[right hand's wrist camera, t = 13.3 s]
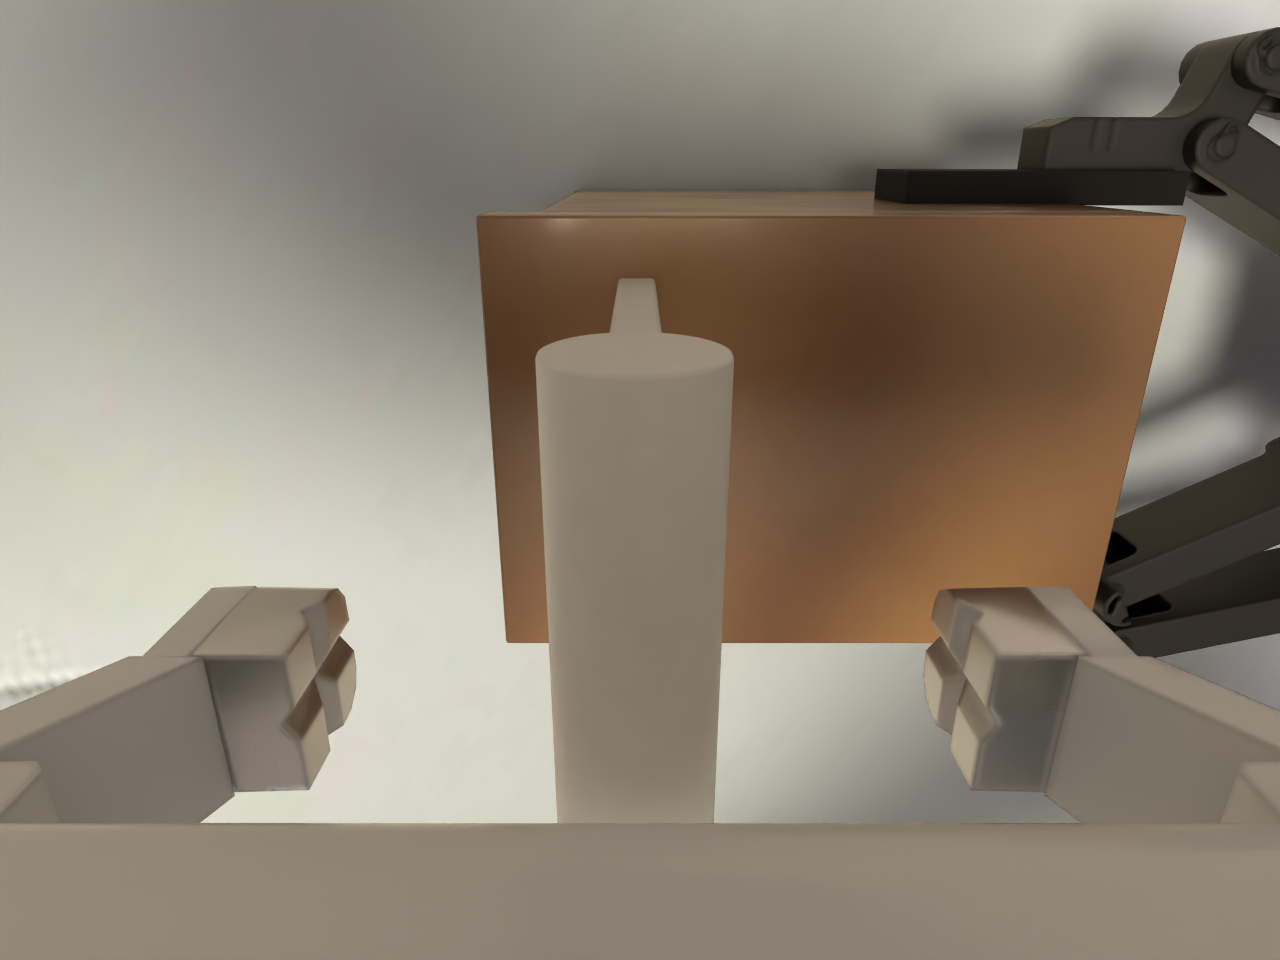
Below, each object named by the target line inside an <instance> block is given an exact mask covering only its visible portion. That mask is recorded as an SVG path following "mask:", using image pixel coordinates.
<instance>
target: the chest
mask: <svg viewBox="0 0 1280 960" xmlns="http://www.w3.org/2000/svg"><path fill="white" fill-rule="evenodd" d="M874 195H875V191H847V190H577V191H575V193H574V194H572V195H570V196H569V197H567V198H565V199H563V200H561V201H559V202H557V203H556V204H554V205H552V206H550V207H548V208H546V209H544V210H543V211H541V212H1142V211H1133V210H1123V209H1114V208H1104V207H1095V206H1085V205H1076V204H904V203H899V202H893V201H887V200H881V199H875V198H874Z"/></svg>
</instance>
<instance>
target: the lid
mask: <svg viewBox="0 0 1280 960" xmlns="http://www.w3.org/2000/svg"><path fill="white" fill-rule="evenodd" d="M1185 221H1186V217H1185V216H1181V215H1171V214H1162V213H1152V212H487V213H484V214H482V215H479V216H477V218H476V222H477V236H478V250H479V264H480V278H481V292H482V306H483V321H484V335H485V349H486V363H487V377H488V391H489V405H490V419H491V433H492V448H493V462H494V476H495V490H496V504H497V518H498V532H499V546H500V560H501V575H502V589H503V603H504V617H505V631H506V641H507V643H549V654H550V675H551V696H552V717H553V738H554V758H555V779H556V800H557V821H558V823H714V801H715V778H716V755H717V733H718V710H719V688H720V665H721V643H934V642H935V641H936V640H937V639H938V638H939V637H940V636H941V635H940V634H939V632H938V631H937V629H936V627H935V626H934V624H933V622H932V621H931V617H932V611H933V605H934V601H935V599H936V596H937V594H938V591H939V590H943V589H957V588H998V587H1046V586H1062V587H1065V588H1068V589H1070V590H1071V591H1072V592H1073V593H1074V594H1075V595H1076V596H1077V597H1078V598H1079V599H1080V600H1081V601H1082V602H1083V603H1084V604H1085V605H1086V606H1087V607H1088V608H1089V609H1090V610H1091V611H1093V606H1094V602H1095V598H1096V594H1097V590H1098V585H1099V581H1100V577H1101V573H1102V569H1103V565H1104V560H1105V556H1106V552H1107V548H1108V544H1109V539H1110V535H1111V531H1112V527H1113V523H1114V518H1115V514H1116V510H1117V506H1118V502H1119V498H1120V493H1121V489H1122V485H1123V481H1124V477H1125V472H1126V468H1127V464H1128V460H1129V456H1130V451H1131V447H1132V443H1133V439H1134V435H1135V431H1136V426H1137V422H1138V418H1139V414H1140V410H1141V405H1142V401H1143V397H1144V393H1145V389H1146V384H1147V380H1148V376H1149V372H1150V368H1151V364H1152V359H1153V355H1154V351H1155V347H1156V343H1157V338H1158V334H1159V330H1160V326H1161V322H1162V317H1163V313H1164V309H1165V305H1166V301H1167V297H1168V292H1169V288H1170V284H1171V280H1172V276H1173V271H1174V267H1175V263H1176V259H1177V255H1178V251H1179V246H1180V242H1181V238H1182V234H1183V230H1184V225H1185Z"/></svg>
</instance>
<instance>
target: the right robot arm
mask: <svg viewBox="0 0 1280 960" xmlns="http://www.w3.org/2000/svg"><path fill="white" fill-rule="evenodd" d="M348 621H349V617H348V611H347V606H346V601H345V596H344V595H343V594H342V593H341V592H340V590H339V589H338V588H291V587H259V588H258V587H256V586H239V587H217V588H211V589H210V590H209V591H208V592H207V593H206V594H205V595H204V596H203V597H202V598H201V599H200V600H199V601H198V602H197V603H196V604H195V605H194V606H193V607H192V608H191V609H190V610H189V611H188V612H187V613H186V614H185V615H184V616H183V617H182V618H181V619H180V620H179V621H178V622H177V623H176V624H175V625H174V626H173V627H172V628H171V629H170V630H169V631H168V632H167V633H166V634H165V635H164V636H163V637H162V638H161V639H160V640H159V641H157V642H156V643H155V644H154V645H153V646H152V647H151V648H150V649H149V650H148V651H147V652H146V653H145V654H144V655H143V656H129V657H127V658H124V659H122V660H119V661H117V662H115V663H112V664H110V665H108V666H105V667H103V668H101V669H98V670H96V671H93V672H91V673H89V674H86V675H84V676H82V677H79V678H77V679H74V680H72V681H70V682H67V683H65V684H63V685H60V686H58V687H56V688H53V689H51V690H48V691H46V692H44V693H41V694H39V695H37V696H34V697H32V698H29V699H27V700H25V701H22V702H20V703H18V704H15V705H13V706H11V707H8V708H6V709H3V710H1V711H0V960H1280V711H1279V710H1276V709H1274V708H1272V707H1269V706H1267V705H1265V704H1262V703H1260V702H1257V701H1255V700H1253V699H1250V698H1248V697H1246V696H1243V695H1241V694H1239V693H1236V692H1234V691H1231V690H1229V689H1227V688H1224V687H1222V686H1220V685H1217V684H1215V683H1213V682H1210V681H1208V680H1206V679H1203V678H1201V677H1198V676H1196V675H1194V674H1191V673H1189V672H1187V671H1184V670H1182V669H1180V668H1177V667H1175V666H1172V665H1170V664H1168V663H1165V662H1163V661H1161V660H1158V659H1156V658H1154V657H1151V656H1137V655H1136V654H1135V653H1134V652H1133V651H1132V650H1131V649H1130V648H1129V647H1128V646H1127V645H1126V644H1125V643H1124V642H1123V641H1122V640H1121V639H1120V638H1119V637H1118V636H1117V635H1116V634H1115V633H1114V632H1113V631H1112V630H1111V629H1110V628H1109V627H1108V626H1107V625H1106V624H1105V623H1104V622H1103V621H1102V620H1101V619H1100V618H1099V617H1098V616H1097V615H1095V614H1094V613H1093V612H1092V611H1091V610H1090V609H1089V608H1088V607H1087V606H1086V605H1085V604H1084V603H1083V602H1082V601H1081V600H1080V599H1079V598H1078V597H1077V596H1076V595H1075V594H1074V593H1073V592H1072V591H1071V590H1070V589H1068V588H1065V587H1062V586H1046V587H998V588H957V589H943V590H939V591H938V594H937V596H936V599H935V601H934V605H933V611H932V617H931V621H932V622H933V624H934V626H935V627H936V629H937V631H938V632H939V634H940V635H941V636H940V637H939V638H938V639H937V640H936V641H935V642H934V643H933V644H932V645H931V646H930V647H929V648H928V649H927V650H926V657H925V665H924V687H925V697H926V700H927V704H928V707H929V711H930V713H931V715H932V717H933V719H934V721H935V723H936V725H937V726H939V727H940V728H942V729H943V730H945V731H947V732H948V733H950V734H951V735H952V740H951V746H950V752H951V753H952V755H953V757H954V759H955V761H956V763H957V765H958V767H959V768H960V770H961V772H962V774H963V776H964V778H965V780H966V782H967V783H968V785H969V787H970V789H971V790H987V791H1024V792H1046V794H1045V795H1046V796H1047V797H1048V798H1049V799H1051V800H1052V801H1053V802H1055V803H1056V804H1057V805H1058V806H1060V807H1061V808H1062V809H1064V810H1065V811H1066V812H1067V813H1069V814H1070V815H1071V816H1073V817H1074V818H1075V819H1076V820H1078V821H1079V822H1080V823H200V822H201V821H203V820H204V819H205V818H206V817H208V816H209V815H210V814H212V813H213V812H214V811H216V810H217V809H218V808H219V807H221V806H222V805H223V804H225V803H226V802H227V801H228V800H230V799H231V798H232V797H234V795H235V794H234V792H255V791H291V790H309V789H310V788H311V786H312V784H313V782H314V780H315V778H316V776H317V774H318V773H319V771H320V769H321V767H322V765H323V763H324V761H325V759H326V757H327V756H328V754H329V752H330V745H329V739H328V735H329V734H330V733H332V732H334V731H335V730H337V729H338V728H340V727H341V726H343V725H344V723H345V721H346V719H347V717H348V715H349V713H350V711H351V708H352V704H353V699H354V694H355V690H356V662H355V655H354V650H353V649H352V648H351V647H350V646H349V645H348V644H347V643H346V642H345V641H344V640H343V639H342V638H341V637H340V634H341V632H342V631H343V629H344V627H345V626H346V624H347V623H348Z"/></svg>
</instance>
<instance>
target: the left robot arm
mask: <svg viewBox="0 0 1280 960" xmlns="http://www.w3.org/2000/svg"><path fill="white" fill-rule="evenodd" d="M1179 82H1180V84H1181V85H1180V86H1179V88H1178V90H1177V92H1176V94H1175V96H1174V97H1173V99H1172V100H1171V102H1170V103H1169V105H1168V106H1167V107H1166V108H1164V109H1163V110H1162V111H1161V112H1160V113H1158V114H1157V115H1155V116H1153V117H1071V118H1060V119H1049V120H1044V121H1041V122H1039V123H1036V124H1034V125H1032V126H1029V127H1027V128H1024V131H1023V137H1022V143H1021V149H1020V155H1019V161H1018V168H1017V169H877V176H876V186H875V195H874V198H875V199H881V200H887V201H893V202H899V203H904V204H1076V205H1183V202H1184V198H1185V195H1186V196H1187V197H1189V198H1190V199H1192V200H1193V201H1195V202H1197V203H1198V204H1200V205H1201V206H1203V207H1204V208H1206V209H1208V210H1209V211H1211V212H1212V213H1214V214H1215V215H1217V216H1219V217H1220V218H1222V219H1223V220H1225V221H1226V222H1228V223H1230V224H1231V225H1233V226H1234V227H1236V228H1237V229H1239V230H1241V231H1242V232H1244V233H1245V234H1247V235H1248V236H1250V237H1252V238H1253V239H1255V240H1256V241H1258V242H1259V243H1261V244H1263V245H1264V246H1266V247H1267V248H1269V249H1270V250H1272V251H1274V252H1275V253H1277V254H1278V255H1280V146H1278V145H1277V144H1275V143H1274V142H1272V141H1271V140H1269V139H1268V138H1266V137H1265V136H1263V135H1262V134H1260V133H1259V132H1257V131H1256V130H1254V129H1253V128H1251V127H1250V126H1248V123H1249V122H1250V120H1251V118H1252V116H1253V115H1254V113H1256V114H1260V115H1263V116H1267V117H1270V118H1273V119H1277V120H1280V27H1276V28H1272V29H1267V30H1262V31H1257V32H1252V33H1247V34H1242V35H1237V36H1232V37H1228V38H1223V39H1218V40H1213V41H1208V42H1204V43H1202V44H1199V45H1196V46H1195V47H1194V48H1193V49H1191V50H1190V51H1189V52H1188V53H1187V54H1186V56H1185V57H1184V59H1183V61H1182V62H1181V66H1180V69H1179ZM1265 447H1266V452H1265V453H1264V454H1263V455H1261V456H1260V457H1257V458H1255V459H1253V460H1250V461H1248V462H1246V463H1243V464H1241V465H1239V466H1236V467H1234V468H1232V469H1229V470H1227V471H1224V472H1222V473H1220V474H1217V475H1215V476H1213V477H1210V478H1208V479H1206V480H1203V481H1201V482H1199V483H1196V484H1194V485H1192V486H1189V487H1187V488H1185V489H1182V490H1180V491H1178V492H1175V493H1173V494H1171V495H1168V496H1166V497H1164V498H1161V499H1159V500H1157V501H1154V502H1152V503H1150V504H1147V505H1145V506H1143V507H1140V508H1138V509H1136V510H1133V511H1131V512H1129V513H1126V514H1124V515H1122V516H1119V517H1117V518H1115V519H1114V523H1113V527H1112V531H1111V535H1110V539H1109V544H1108V548H1107V552H1106V556H1105V560H1104V565H1103V569H1102V573H1101V577H1100V581H1099V585H1098V590H1097V594H1096V598H1095V602H1094V606H1093V611H1092V612H1093V613H1094V614H1095V615H1097V616H1098V617H1099V618H1100V619H1101V620H1102V621H1103V622H1104V623H1105V624H1106V625H1107V626H1108V627H1109V628H1110V629H1111V630H1112V631H1113V632H1114V633H1115V634H1116V635H1117V636H1118V637H1119V638H1120V639H1121V640H1122V641H1123V642H1124V643H1125V644H1126V645H1127V646H1128V647H1129V648H1130V649H1131V650H1132V651H1133V652H1134V653H1135V654H1136V655H1137V656H1151V657H1154V658H1156V657H1161V656H1166V655H1171V654H1176V653H1181V652H1186V651H1191V650H1196V649H1201V648H1206V647H1211V646H1216V645H1221V644H1226V643H1232V642H1237V641H1242V640H1247V639H1252V638H1257V637H1262V636H1267V635H1272V634H1277V633H1280V548H1276V549H1271V550H1266V549H1269V548H1271V547H1274V546H1276V545H1279V544H1280V437H1279V438H1276V439H1274V440H1272V441H1271V442H1269V443H1268V444H1267V445H1266V446H1265ZM1264 550H1266V551H1264Z"/></svg>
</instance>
